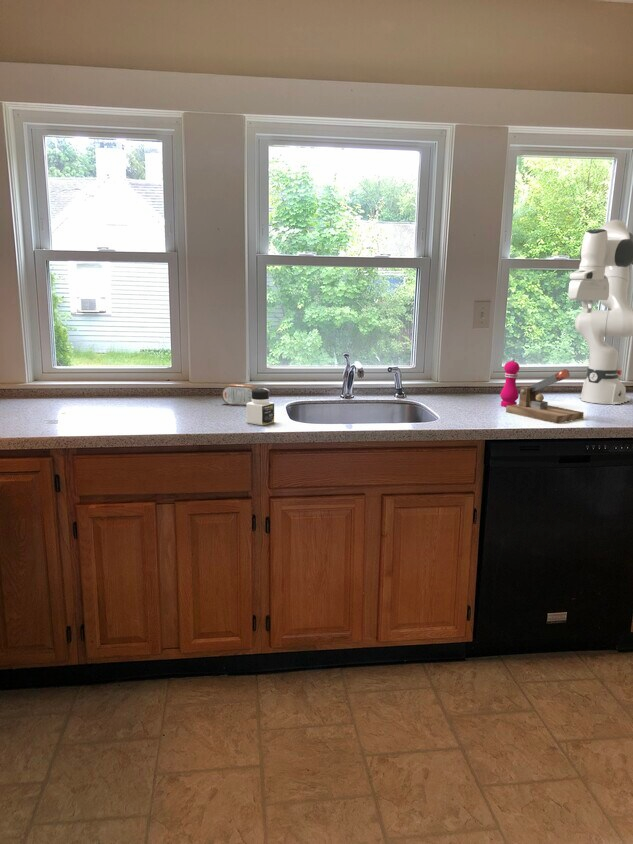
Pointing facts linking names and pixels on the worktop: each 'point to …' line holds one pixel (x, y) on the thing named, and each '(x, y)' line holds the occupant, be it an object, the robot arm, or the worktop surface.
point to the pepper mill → (510, 384)
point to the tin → (237, 394)
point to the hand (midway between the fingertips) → (587, 312)
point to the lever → (549, 380)
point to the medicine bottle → (260, 408)
